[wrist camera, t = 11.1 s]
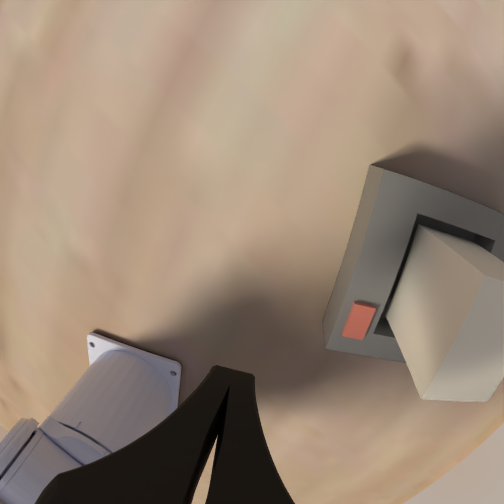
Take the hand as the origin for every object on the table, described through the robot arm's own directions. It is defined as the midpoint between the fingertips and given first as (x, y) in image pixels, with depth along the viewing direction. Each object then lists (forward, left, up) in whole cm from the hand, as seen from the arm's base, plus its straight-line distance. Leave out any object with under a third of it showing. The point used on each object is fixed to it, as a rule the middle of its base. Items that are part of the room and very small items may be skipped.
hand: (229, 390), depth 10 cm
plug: (+3, -10, -9) cm, 14 cm away
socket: (+3, -10, -10) cm, 14 cm away
